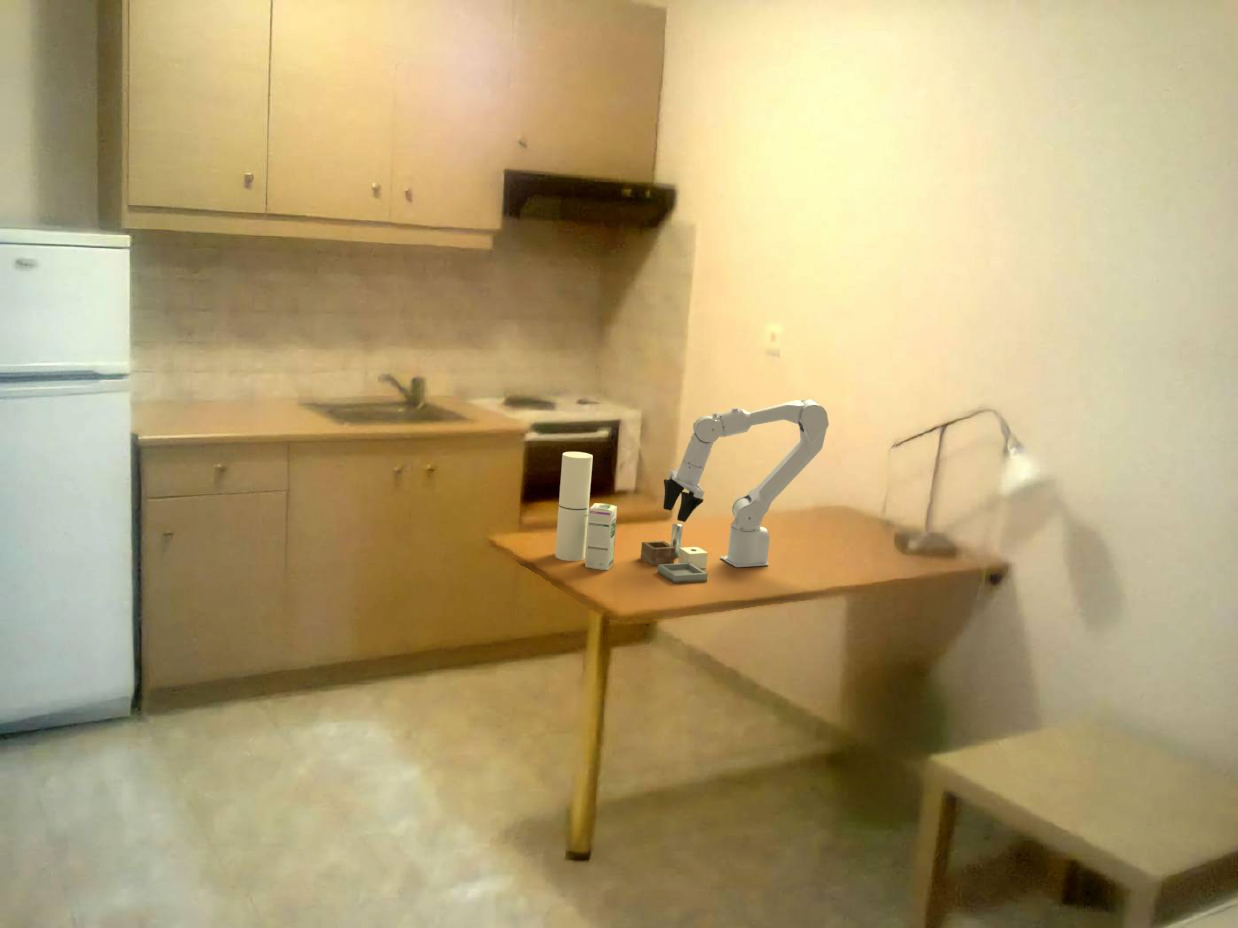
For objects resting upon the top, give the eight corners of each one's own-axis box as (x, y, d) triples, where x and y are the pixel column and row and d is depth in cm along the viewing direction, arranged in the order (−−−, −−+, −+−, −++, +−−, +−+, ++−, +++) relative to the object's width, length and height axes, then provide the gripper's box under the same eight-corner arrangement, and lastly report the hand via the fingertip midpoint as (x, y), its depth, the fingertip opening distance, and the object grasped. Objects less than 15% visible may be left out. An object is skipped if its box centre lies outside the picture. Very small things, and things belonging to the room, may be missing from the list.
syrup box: (608, 570, 249) (613, 510, 246) (583, 567, 250) (588, 507, 247) (613, 564, 254) (618, 505, 251) (589, 560, 255) (593, 501, 252)
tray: (689, 569, 255) (689, 562, 254) (706, 581, 247) (707, 573, 247) (657, 571, 251) (658, 564, 251) (674, 583, 244) (675, 575, 243)
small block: (696, 562, 262) (697, 546, 261) (706, 568, 257) (707, 552, 257) (678, 563, 260) (679, 547, 259) (687, 569, 255) (689, 553, 254)
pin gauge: (676, 554, 267) (679, 523, 265) (681, 557, 265) (684, 525, 263) (667, 554, 266) (670, 523, 264) (672, 557, 264) (675, 526, 262)
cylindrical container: (548, 555, 257) (556, 453, 252) (570, 550, 262) (577, 450, 257) (569, 562, 252) (577, 459, 247) (590, 558, 258) (599, 456, 253)
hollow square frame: (662, 556, 264) (663, 540, 263) (673, 563, 259) (675, 547, 258) (640, 557, 261) (641, 542, 260) (651, 565, 256) (653, 549, 255)
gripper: (666, 450, 263) (647, 501, 266) (694, 470, 251) (673, 522, 254) (689, 456, 267) (671, 506, 269) (718, 476, 254) (698, 528, 257)
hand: (674, 515), depth 262 cm, fingers open, 7 cm apart
